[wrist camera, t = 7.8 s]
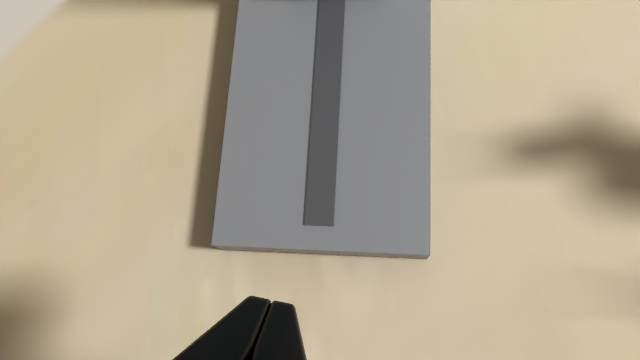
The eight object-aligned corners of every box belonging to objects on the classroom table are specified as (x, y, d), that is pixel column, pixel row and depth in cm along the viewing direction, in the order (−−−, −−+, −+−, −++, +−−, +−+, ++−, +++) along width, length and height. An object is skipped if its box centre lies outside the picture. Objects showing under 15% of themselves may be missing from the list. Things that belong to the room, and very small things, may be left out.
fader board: (426, 259, 21) (430, 254, 20) (222, 249, 22) (210, 245, 21) (427, -58, 25) (430, -82, 24) (254, -53, 26) (247, -76, 25)
